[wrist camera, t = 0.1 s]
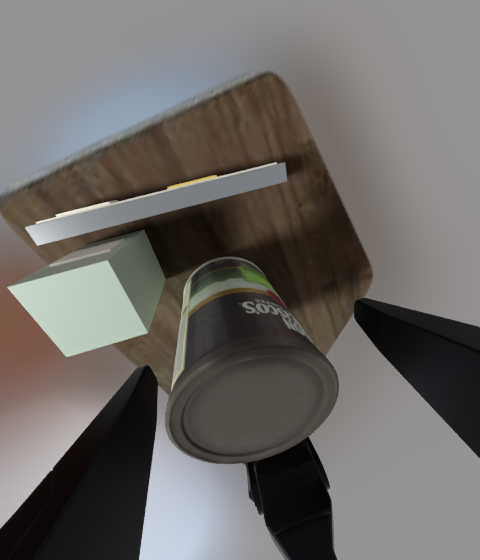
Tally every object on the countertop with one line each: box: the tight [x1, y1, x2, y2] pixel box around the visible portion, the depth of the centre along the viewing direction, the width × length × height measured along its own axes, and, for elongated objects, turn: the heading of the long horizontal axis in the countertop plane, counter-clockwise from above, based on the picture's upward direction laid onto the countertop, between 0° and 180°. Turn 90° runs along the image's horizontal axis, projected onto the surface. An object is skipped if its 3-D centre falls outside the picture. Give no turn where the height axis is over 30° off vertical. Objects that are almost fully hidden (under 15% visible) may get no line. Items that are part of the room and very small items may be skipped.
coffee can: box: [165, 257, 339, 464], centre depth 18 cm, size 10×10×14 cm
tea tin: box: [8, 230, 166, 357], centre depth 17 cm, size 6×6×9 cm
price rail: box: [25, 162, 287, 246], centre depth 17 cm, size 2×20×4 cm, turn 102°
